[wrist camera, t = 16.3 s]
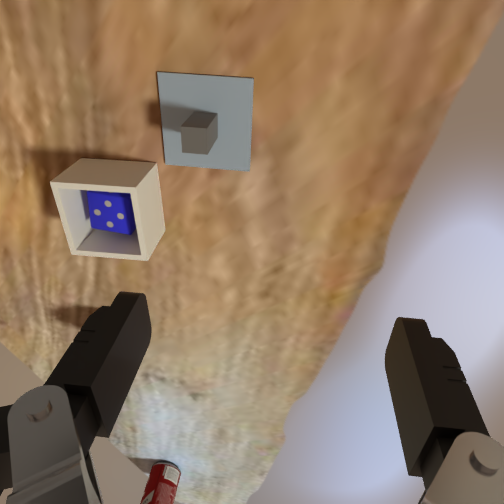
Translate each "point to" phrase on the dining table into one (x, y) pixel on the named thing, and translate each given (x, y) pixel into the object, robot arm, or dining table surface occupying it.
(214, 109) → the lid
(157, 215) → the box
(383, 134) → the dining table surface
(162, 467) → the soda can
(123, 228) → the die
